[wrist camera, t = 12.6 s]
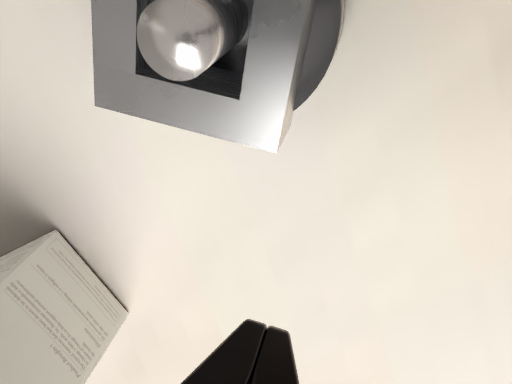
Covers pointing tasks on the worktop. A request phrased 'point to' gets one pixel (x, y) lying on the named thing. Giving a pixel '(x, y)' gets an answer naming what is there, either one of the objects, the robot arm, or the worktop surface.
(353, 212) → the worktop surface
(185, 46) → the hub
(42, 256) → the supplement box
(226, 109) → the collar
